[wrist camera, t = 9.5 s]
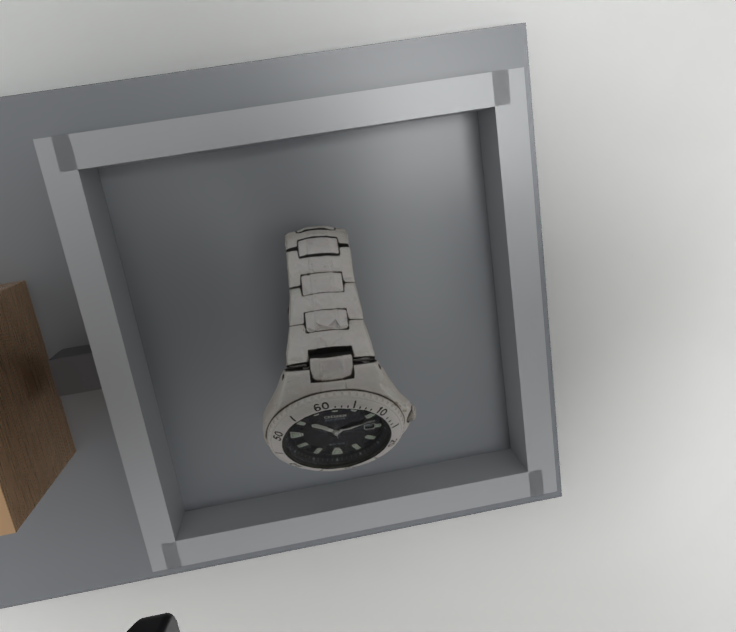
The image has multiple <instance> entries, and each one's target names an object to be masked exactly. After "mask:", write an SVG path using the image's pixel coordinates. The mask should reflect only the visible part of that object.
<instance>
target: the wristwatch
mask: <svg viewBox="0 0 736 632" xmlns="http://www.w3.org/2000/svg"><path fill="white" fill-rule="evenodd" d="M285 248H286V257H287V272H288V282H289V293H290V303H289V304H288V307H287V311H288V316H289V324H290V326H289V334H288V343H287V350H286V367H287V369H284V370H283V372H282V374H281V377H280V380H279V383H278V386H277V388H276V390H275V392H274V394H273V396H272V398H271V400H270V401H269V403H268V405H267V406H266V409H265V411H264V414H263V417H262V424H263V435H264V439H265V441H266V443H267V445H268V446H269V447H270V449H271V451H272V452H273V454H274V455H275V456H276V457H278V458H279V459H280V460H282V461H284V462H285V463H287V464H289V465H293V466H296V467H299V468H302V469H308V470H314V471H339V470H345V469H350V468H353V467H357V466H360V465H363V464H366V463H369V462H371V461H374V460H375V459H377V458H379V457H381V456H382V455H384V454H386V453H387V452H388V451H390V450H391V449H392V448H393V447H394V446H395V445H396V444H397V442H398V441H399V440H400V439H401V436H402V434H403V433H404V432H405V431H406V429H407V428H408V426H409V424H410V421H413V420H414V419H415V418H416V408H415V406H414V405H412V404H411V403H410V401H409V400H408V399H407V398H406V397H405V396H403V395H402V394H401V393H400V392H399V391H398V390H397V388H396V387H395V386H394V384H393V383H392V382H391V380H390V379H389V377H388V376H387V374H386V372H385V370H384V369H383V367H381V366H380V364H379V362H378V360H375V359H374V358H375V352H374V350H373V347H372V343H371V340H370V337H369V334H368V331H367V328H366V325H365V323H364V320H363V312H362V307H361V303H360V300H359V296H358V292H357V288H356V285H355V280H354V274H353V265H352V256H351V250H350V247H349V240H348V234H347V231H346V230H345V229H343V228H334V227H328V226H312V227H305V228H303V229H300V230H298V231H294V232H290V233H285Z"/></svg>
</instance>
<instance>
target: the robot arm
mask: <svg viewBox="0 0 736 632" xmlns="http://www.w3.org/2000/svg"><path fill="white" fill-rule="evenodd" d="M127 632H180V631H179V627H178V624H177V621H176V619H175V617H174V616H173V615H172V614H170V613H165V614H160V615H155V616H150V617H145V618H142V619H140V620H138V621H137V622H136V623H135V624H134V625H133V626H132V627H131V628H130V629H129V630H128V631H127Z"/></svg>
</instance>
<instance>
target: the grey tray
mask: <svg viewBox="0 0 736 632" xmlns="http://www.w3.org/2000/svg"><path fill="white" fill-rule="evenodd" d="M312 226H328V227H334V228H343V229H345V230H346V231H347V234H348V240H349V247H350V250H351V256H352V265H353V274H354V280H355V285H356V288H357V292H358V296H359V300H360V303H361V307H362V312H363V320H364V323H365V325H366V328H367V331H368V334H369V337H370V340H371V343H372V347H373V350H374V352H375V358H374V359H375V360H378V362H379V364H380V366H381V367H383V369H384V370H385V372H386V374H387V376H388V377H389V379H390V380H391V382H392V383H393V384H394V386H395V387H396V388H397V390H398V391H399V392H400V393H401V394H402V395H403V396H405V397H406V398H407V399H408V400H409V401H410V403H411V404H412V405H414V406H415V408H416V418H415V419H414V420H413V421H410V424H409V426H408V428H407V429H406V431H405V432H404V433H403V434H402V436H401V439H400V440H399V441H398V442H397V444H396V445H395V446H394V447H393V448H392V449H391V450H390V451H388V452H387V453H386V454H384V455H382V456H381V457H379V458H377V459H375V460H374V461H371V462H369V463H366V464H363V465H360V466H357V467H353V468H350V469H345V470H339V471H314V470H308V469H302V468H299V467H296V466H293V465H289V464H287V463H285V462H284V461H282V460H280V459H279V458H278V457H276V456H275V455H274V454H273V452H272V451H271V449H270V447H269V446H268V445H267V443H266V441H265V439H264V435H263V424H262V417H263V414H264V411H265V409H266V406H267V405H268V403H269V401H270V400H271V398H272V396H273V394H274V392H275V390H276V388H277V386H278V383H279V380H280V377H281V374H282V372H283V370H284V369H287V367H286V350H287V343H288V334H289V326H290V324H289V316H288V311H287V307H288V304H289V303H290V293H289V282H288V272H287V257H286V248H285V233H290V232H294V231H298V230H300V229H303V228H305V227H312ZM560 496H562V493H561V480H560V466H559V453H558V440H557V427H556V414H555V401H554V388H553V375H552V361H551V348H550V335H549V322H548V309H547V296H546V283H545V270H544V257H543V243H542V230H541V217H540V204H539V191H538V178H537V165H536V152H535V138H534V125H533V112H532V99H531V86H530V73H529V60H528V47H527V33H526V23H520V24H513V25H505V26H498V27H491V28H484V29H477V30H470V31H463V32H456V33H449V34H442V35H435V36H428V37H421V38H414V39H407V40H400V41H393V42H386V43H379V44H371V45H364V46H357V47H350V48H343V49H336V50H329V51H322V52H315V53H308V54H301V55H294V56H287V57H280V58H273V59H266V60H259V61H252V62H245V63H237V64H230V65H223V66H216V67H209V68H202V69H195V70H188V71H181V72H174V73H167V74H160V75H153V76H146V77H139V78H132V79H125V80H118V81H111V82H103V83H96V84H89V85H82V86H75V87H68V88H61V89H54V90H47V91H40V92H33V93H26V94H19V95H12V96H5V97H0V609H2V608H7V607H12V606H17V605H22V604H27V603H32V602H37V601H42V600H47V599H52V598H57V597H62V596H67V595H72V594H77V593H82V592H87V591H91V590H96V589H101V588H106V587H111V586H116V585H121V584H126V583H131V582H136V581H141V580H146V579H151V578H156V577H161V576H166V575H171V574H176V573H181V572H186V571H191V570H196V569H201V568H206V567H211V566H216V565H221V564H226V563H231V562H236V561H241V560H246V559H251V558H256V557H261V556H266V555H271V554H276V553H281V552H286V551H291V550H296V549H301V548H306V547H311V546H316V545H321V544H326V543H331V542H336V541H341V540H346V539H351V538H356V537H361V536H366V535H371V534H376V533H381V532H386V531H391V530H396V529H401V528H406V527H411V526H416V525H421V524H426V523H431V522H436V521H441V520H446V519H451V518H456V517H461V516H466V515H471V514H476V513H481V512H486V511H491V510H496V509H501V508H506V507H511V506H515V505H520V504H525V503H530V502H535V501H540V500H545V499H550V498H555V497H560Z"/></svg>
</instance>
